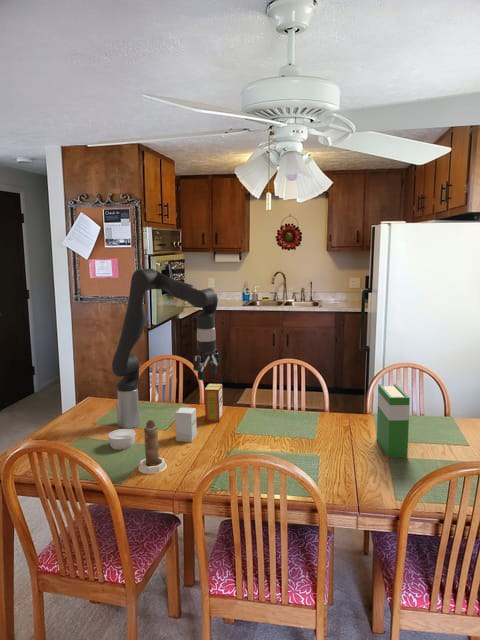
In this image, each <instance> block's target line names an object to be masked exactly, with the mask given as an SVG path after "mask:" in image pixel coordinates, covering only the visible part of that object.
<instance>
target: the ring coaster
mask: <svg viewBox="0 0 480 640" xmlns="http://www.w3.org/2000/svg"><path fill="white" fill-rule="evenodd" d="M167 467H168V465H167V463H166V462H165V458H164V457H160V456H159V465H157V466H150V467H149V466H146V457H145V458H143V459H141V460H140V461H139V466H138V471H139V472H140V473H142V474H149V475H150V474H151V475H153V474H158V473H161V472H163V471H165V470H166V469H167Z"/></svg>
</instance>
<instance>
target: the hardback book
mask: <svg viewBox="0 0 480 640" xmlns="http://www.w3.org/2000/svg"><path fill="white" fill-rule="evenodd" d="M410 400H411V399H410V396H409V395H408V394H407V393H406V392H405V391H403V389H402V388H401V387H400V386H399V385H398V384H396V383H394V384H393V385H387V386H386V385H385V386H383V385H382V384H377V414H376V415H377V417H376V419H377V420H376V440H377V442H378V445H380V447H381V449H382V450H383V451H384V454H385V455H386V456H387V458H408V455H409V454H408V453H409V451H408V450H409V449H408V448H409V428H410V427H409V426H410Z"/></svg>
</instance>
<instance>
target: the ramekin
mask: <svg viewBox="0 0 480 640" xmlns="http://www.w3.org/2000/svg"><path fill="white" fill-rule="evenodd" d="M136 434H137V433H136V431H135V430H134V429H132V428H119V429H115V430H113V431H111V432H109V433H108V435H107V439H108V440H109V444H110V447H111V448H112V449H113V450H116V449H118V450H119V451H121V450H122V449H123V450H127V449H130V448H132V447H133V446H134V444H135V440H136ZM118 450H117V451H118Z"/></svg>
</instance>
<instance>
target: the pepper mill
mask: <svg viewBox="0 0 480 640" xmlns="http://www.w3.org/2000/svg"><path fill="white" fill-rule="evenodd" d="M143 431H144V453H145V458H146V466H149V467H150V466H157V465H159V457H160V456H159V455H160V454H159V435H158V434H159V433H158V427H157V425H156V423H155V421H154V420H151V419H149V420H148V421H146V423H145V426H144V430H143Z"/></svg>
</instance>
